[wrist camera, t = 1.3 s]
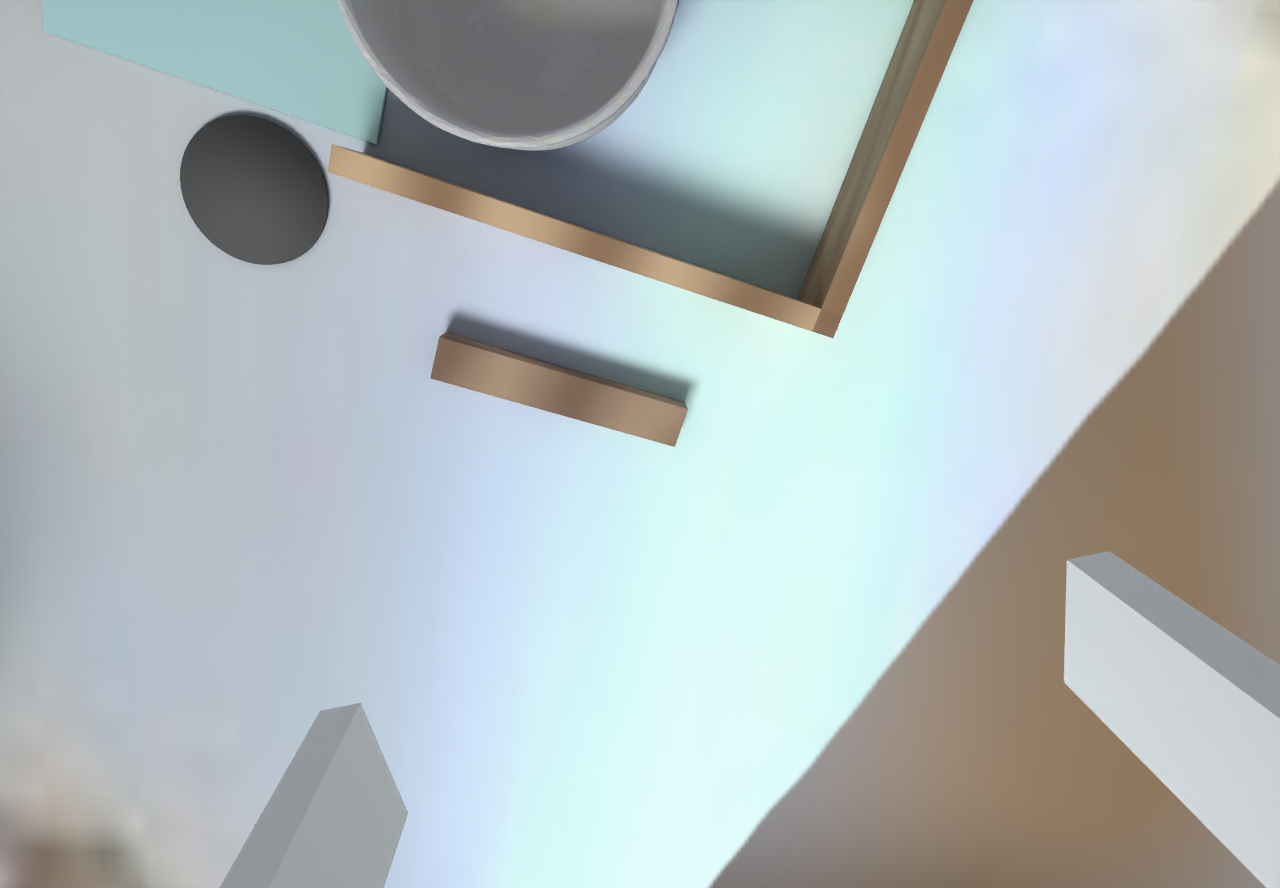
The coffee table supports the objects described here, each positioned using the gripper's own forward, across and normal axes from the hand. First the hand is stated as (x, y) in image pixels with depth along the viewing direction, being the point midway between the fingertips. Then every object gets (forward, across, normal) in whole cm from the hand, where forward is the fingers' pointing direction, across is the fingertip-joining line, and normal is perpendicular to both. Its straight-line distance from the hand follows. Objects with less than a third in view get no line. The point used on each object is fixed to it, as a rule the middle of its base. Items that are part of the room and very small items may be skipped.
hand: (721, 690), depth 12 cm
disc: (+21, -15, +12) cm, 29 cm away
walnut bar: (+22, -4, +1) cm, 22 cm away
